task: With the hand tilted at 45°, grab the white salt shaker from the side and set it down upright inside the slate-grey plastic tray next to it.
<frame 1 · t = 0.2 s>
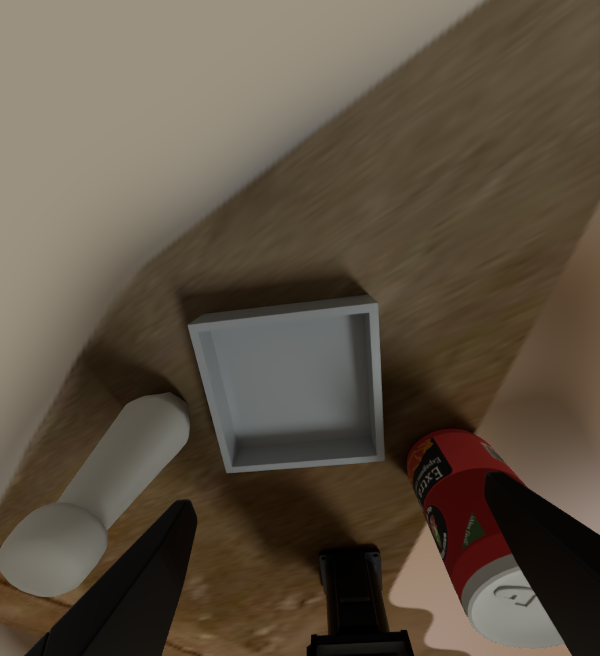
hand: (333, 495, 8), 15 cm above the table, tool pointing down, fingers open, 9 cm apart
canned food: (445, 458, 26), on the table
salt shaker: (168, 410, 25), on the table
tray: (295, 378, 24), on the table
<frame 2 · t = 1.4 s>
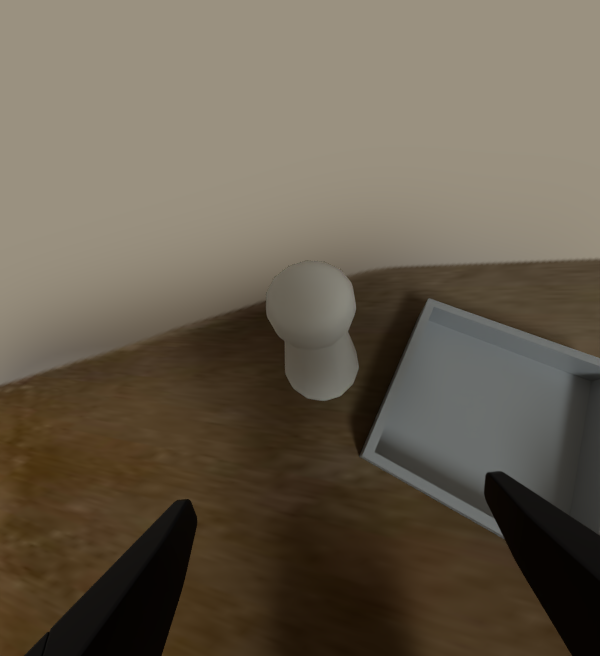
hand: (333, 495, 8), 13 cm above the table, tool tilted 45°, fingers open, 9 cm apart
salt shaker: (322, 372, 24), on the table
tray: (476, 418, 21), on the table
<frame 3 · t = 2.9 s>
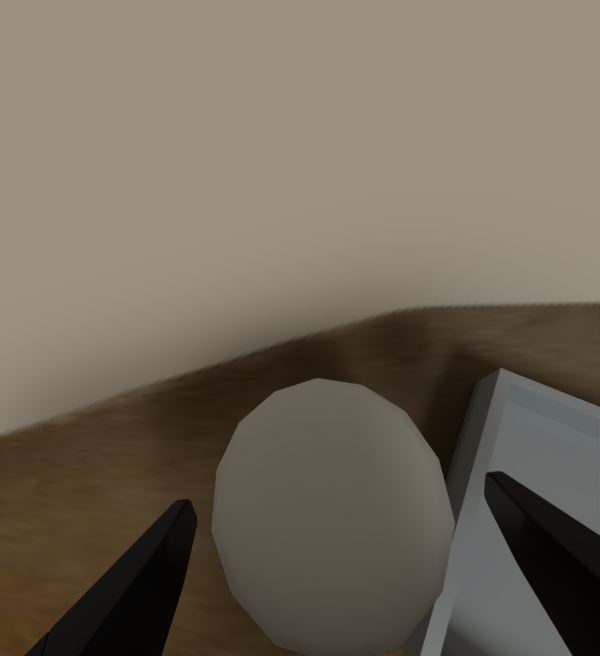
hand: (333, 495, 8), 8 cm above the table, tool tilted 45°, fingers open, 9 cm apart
salt shaker: (334, 471, 16), on the table
tray: (588, 571, 13), on the table
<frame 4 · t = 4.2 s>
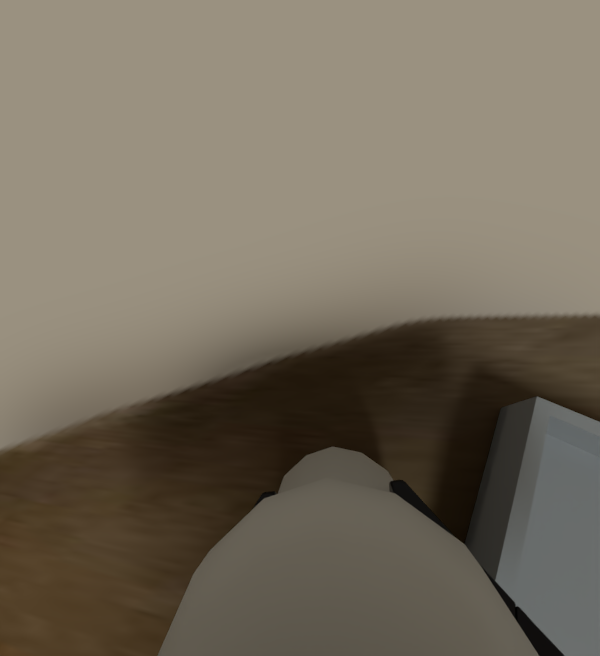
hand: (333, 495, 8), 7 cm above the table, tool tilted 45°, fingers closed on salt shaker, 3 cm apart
salt shaker: (339, 512, 14), on the table, touching gripper
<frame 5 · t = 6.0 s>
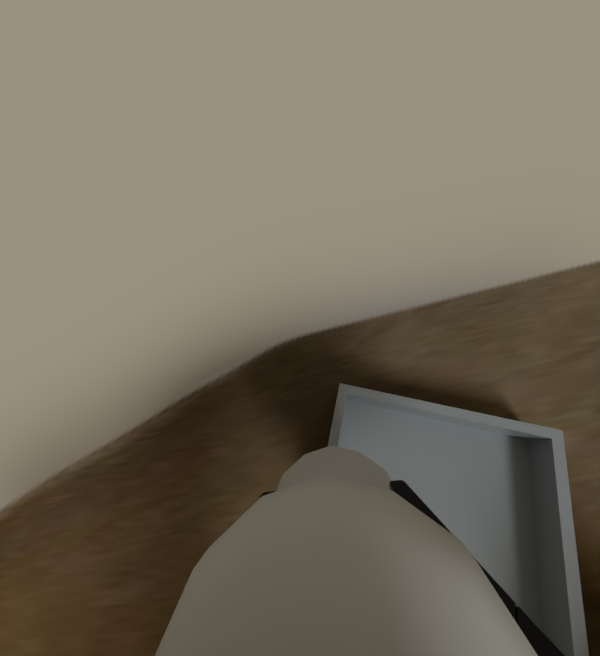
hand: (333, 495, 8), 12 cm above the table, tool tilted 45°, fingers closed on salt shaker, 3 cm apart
salt shaker: (337, 511, 14), point 5 cm above the table, touching gripper
tray: (421, 514, 18), on the table
when the fingers open (8 cm above the table, at t = 7.7 s): salt shaker stays where it is, resting on tray.
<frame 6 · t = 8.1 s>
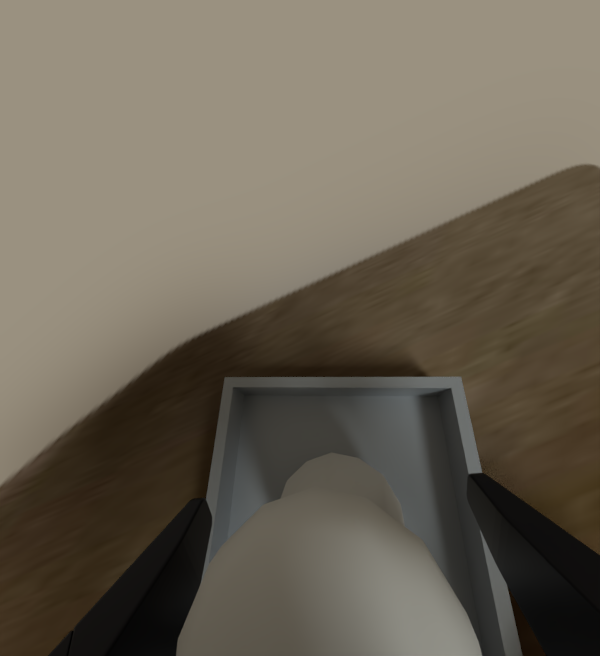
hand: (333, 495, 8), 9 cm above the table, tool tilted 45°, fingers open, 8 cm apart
salt shaker: (339, 514, 15), point 1 cm above the table, touching tray
tray: (339, 506, 15), on the table
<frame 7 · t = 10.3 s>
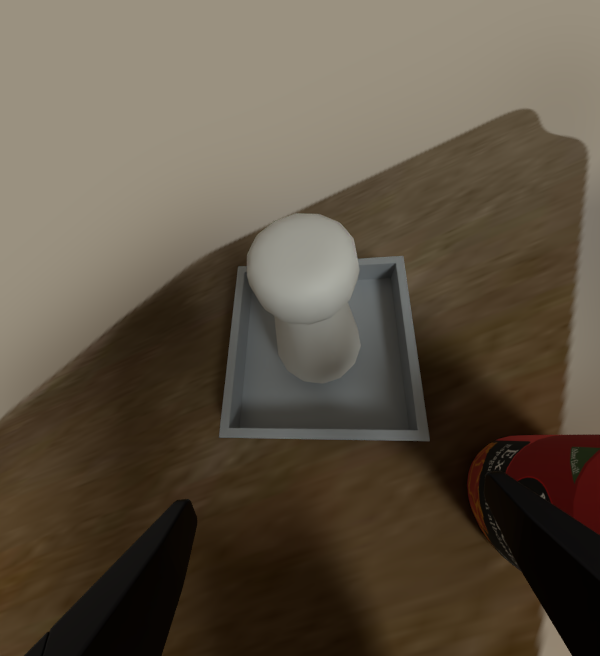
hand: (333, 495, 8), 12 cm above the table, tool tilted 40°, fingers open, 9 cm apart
canned food: (528, 500, 17), on the table
salt shaker: (320, 352, 22), point 1 cm above the table, touching tray
tray: (320, 351, 22), on the table
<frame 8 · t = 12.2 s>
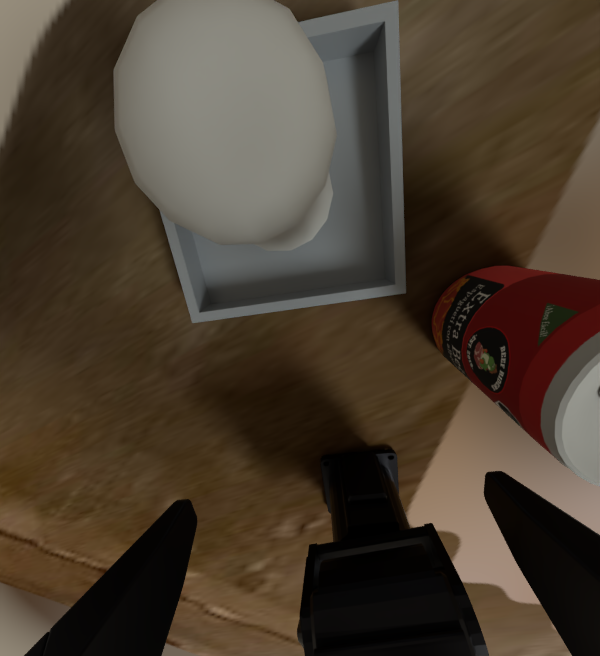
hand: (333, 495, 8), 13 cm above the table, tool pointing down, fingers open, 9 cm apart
canned food: (482, 317, 20), on the table
salt shaker: (281, 200, 17), point 1 cm above the table, touching tray
tray: (282, 197, 18), on the table
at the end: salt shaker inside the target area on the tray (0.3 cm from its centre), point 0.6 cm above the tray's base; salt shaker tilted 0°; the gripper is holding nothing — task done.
